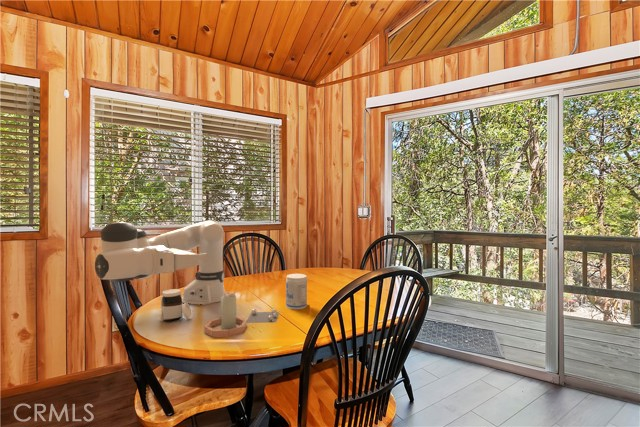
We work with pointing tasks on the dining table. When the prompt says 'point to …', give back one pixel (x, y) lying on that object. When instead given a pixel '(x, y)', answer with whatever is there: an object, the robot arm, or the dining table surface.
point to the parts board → (263, 316)
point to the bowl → (225, 332)
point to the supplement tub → (296, 291)
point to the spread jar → (174, 306)
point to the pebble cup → (228, 311)
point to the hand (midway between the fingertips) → (199, 254)
